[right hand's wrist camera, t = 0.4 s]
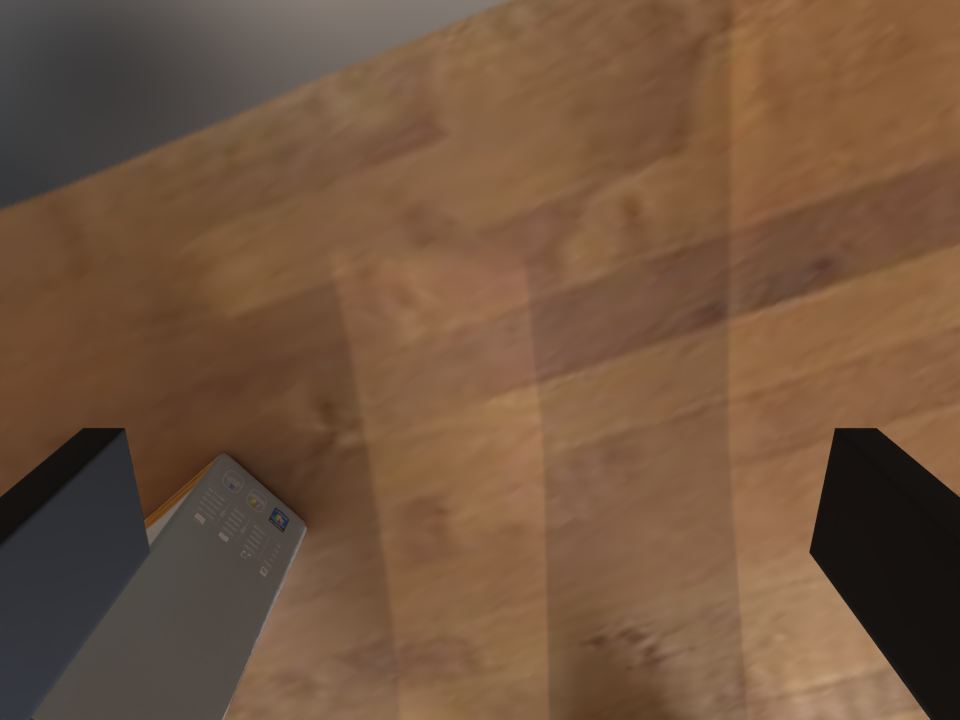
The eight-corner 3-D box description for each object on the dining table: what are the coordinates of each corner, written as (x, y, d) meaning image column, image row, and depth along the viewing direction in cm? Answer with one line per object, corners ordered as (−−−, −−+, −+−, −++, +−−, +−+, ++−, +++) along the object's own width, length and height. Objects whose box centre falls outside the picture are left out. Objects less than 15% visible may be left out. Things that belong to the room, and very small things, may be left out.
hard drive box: (223, 445, 43) (26, 711, 24) (312, 523, 45) (193, 823, 26) (72, 579, 46) (-200, 899, 28) (160, 645, 49) (-38, 985, 30)
